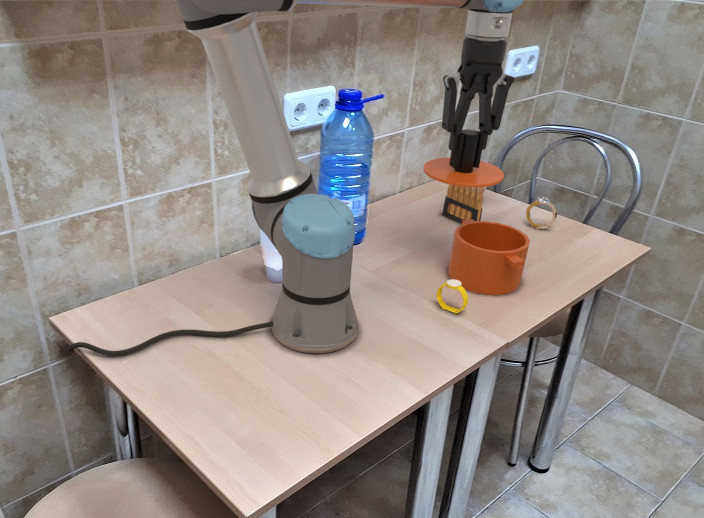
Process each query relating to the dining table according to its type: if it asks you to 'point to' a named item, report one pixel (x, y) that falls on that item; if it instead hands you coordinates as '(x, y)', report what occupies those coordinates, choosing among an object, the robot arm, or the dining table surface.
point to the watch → (452, 285)
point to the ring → (538, 202)
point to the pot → (488, 257)
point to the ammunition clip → (463, 203)
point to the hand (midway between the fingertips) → (464, 166)
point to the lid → (465, 167)
